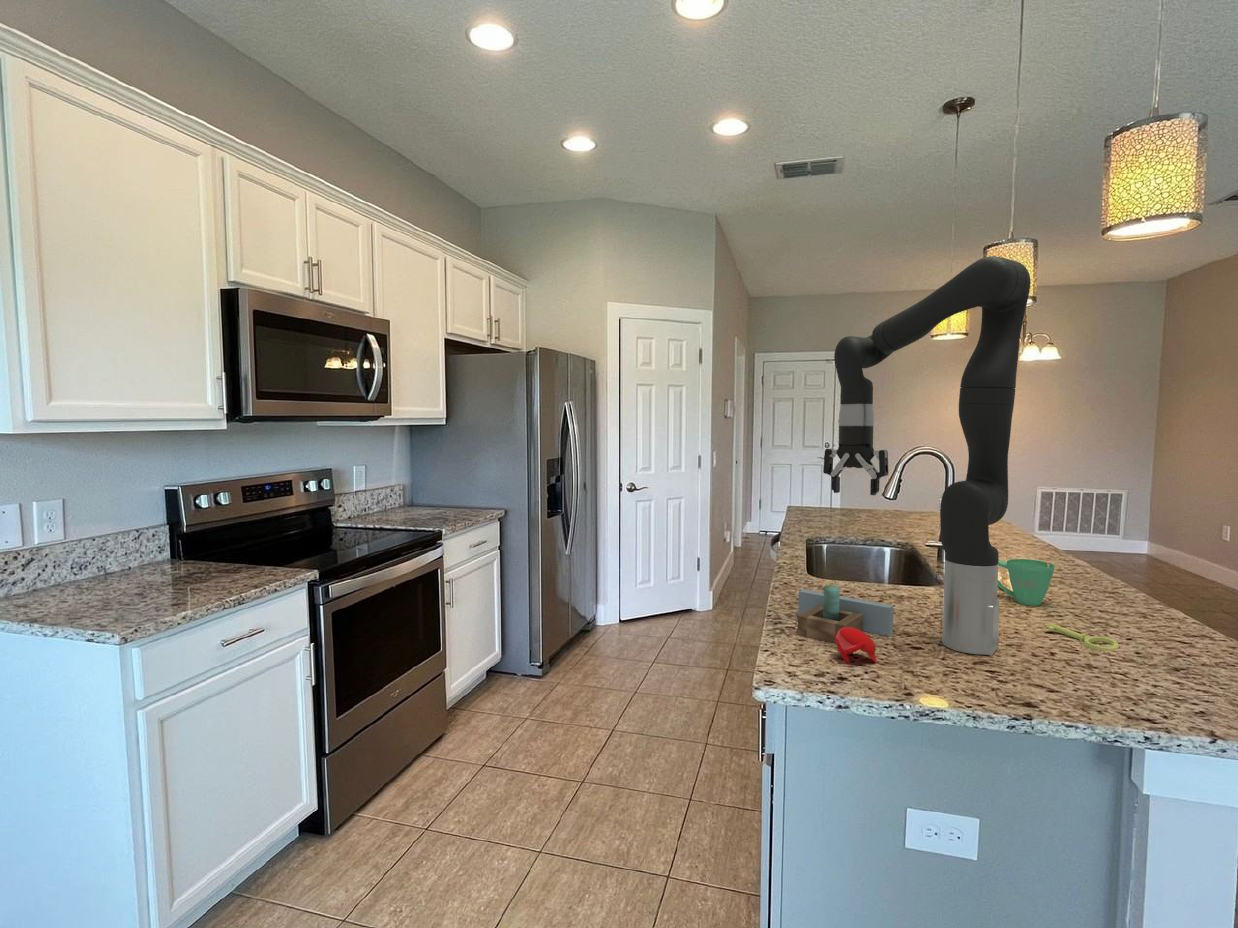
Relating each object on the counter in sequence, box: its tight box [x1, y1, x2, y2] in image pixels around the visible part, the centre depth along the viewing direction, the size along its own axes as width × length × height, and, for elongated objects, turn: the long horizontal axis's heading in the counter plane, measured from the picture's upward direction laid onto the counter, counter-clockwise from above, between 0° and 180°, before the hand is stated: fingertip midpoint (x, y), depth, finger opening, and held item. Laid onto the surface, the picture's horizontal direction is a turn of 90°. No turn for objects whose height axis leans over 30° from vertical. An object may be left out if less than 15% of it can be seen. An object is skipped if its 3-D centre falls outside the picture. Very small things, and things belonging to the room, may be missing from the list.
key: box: [1045, 623, 1120, 652], centre depth 126 cm, size 7×12×2 cm, turn 44°
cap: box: [835, 627, 878, 664], centre depth 117 cm, size 8×6×6 cm
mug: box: [997, 558, 1056, 607], centre depth 155 cm, size 15×10×10 cm
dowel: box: [823, 584, 841, 621], centre depth 131 cm, size 3×3×10 cm
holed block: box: [797, 605, 864, 644], centre depth 131 cm, size 10×10×4 cm
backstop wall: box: [798, 589, 894, 637], centre depth 137 cm, size 20×2×6 cm, turn 49°
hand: (854, 493), depth 144 cm, fingers open, 8 cm apart
